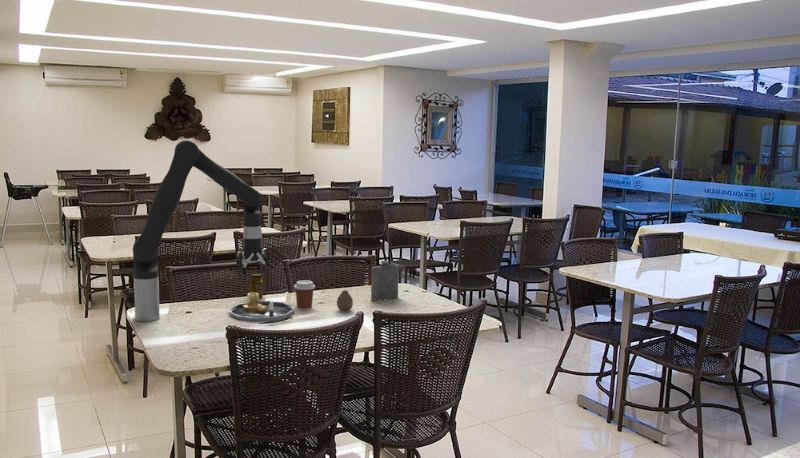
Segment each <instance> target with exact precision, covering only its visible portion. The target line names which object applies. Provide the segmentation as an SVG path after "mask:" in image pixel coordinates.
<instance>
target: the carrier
mask: <svg viewBox="0 0 800 458" xmlns="http://www.w3.org/2000/svg"><path fill="white" fill-rule="evenodd" d="M259 304H262V305H263V306H258V307H257V311H245V310H244V309H243V305H247V302H242V303H237V304H236V305H234V306H232V307H230V308H229V317H232V318H234V319H237V320H238V321H239V320H240V321H247V322H260V323H258V325H268V324H269V325H270V324H277V323H282V322H285V321H288V320H290V319H291V318H293V316H292V315H294V314H295V308H294V306H293V304H292V305H291V304H290V303H286V302H284V301H282V302H281V301H273V300H259Z"/></svg>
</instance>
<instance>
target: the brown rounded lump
mask: <svg viewBox="0 0 800 458" xmlns="http://www.w3.org/2000/svg"><path fill="white" fill-rule="evenodd" d="M353 305H354V300H353V297H352V296H351V294H350V293H349V290H348V289H347V290H344V289H343V290H342V291H341V293H340V294H339V295H338V297H337V299H336V306H337V307H336V308H337V309H338V310H339V311H340V312H342V311H347V312H349V310H350V311H351V310H352V308H353Z"/></svg>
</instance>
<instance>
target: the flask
mask: <svg viewBox="0 0 800 458" xmlns="http://www.w3.org/2000/svg"><path fill="white" fill-rule="evenodd" d="M380 263H381V265H377V266H372V267H371V281H370V282H371V284H370V287H371V292H370V293H371V294H370V295H371V296H370V302H374V301H375V302H379V301H378V300H380V301H385V300H384V299H387V300H394V299H393V298H397V299H399V276H400V275H399V272H400V271H399V270H400V266H399V264H389V260H382V261H381V262H380Z"/></svg>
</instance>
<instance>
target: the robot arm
mask: <svg viewBox="0 0 800 458" xmlns="http://www.w3.org/2000/svg"><path fill="white" fill-rule="evenodd" d="M193 167H194V168H196V169H197V170H199V171H200V172H202V173H203V174H205V175H206V176H207V177H209V178H210V179H212V180H213V182H214V183H216V184H217V185H219V186H220V187H222V188H223V189H225V190H226V191H227V192H228V193H231V194H232V195H234V196H236V197H237V198H238V199H239V200H241V201H242V205H243V206H242V207H243V232H242V234H243V239H242V240H243V245H242V246H243V251H239V250H238V251H236V261H235V262H236V263H235V264H236V266H237V267H240V274H241V275H242V276H243V277H246V276H247V265H248V264H249V263H250V262H253V261H257V262H259V274H265V270H266V267H265V265H266V264H267V263H269V262H270V259H269V258H270V256H269V248H265V247H263V248H262V246H263V245H262V243H263V242H262V240H263V239H262V238H263V237H262V236H263V233H262V215H261V212H260V203H261V202H262V194H261V193H260V192H259V190H258V189H257V190H256V189H255V188H254V187H252V186H251V185H249V184H247V183H246V182H244V181H243V180H242V179H241V178H240V177H238V175H235V174H234V173H233V172H232V171H230V170H229V169H227V168H225V167H224V166H222V165H220V164H219V163H217V162H215V160H213V159H211V158H210V157H209V156H207V155H206V154H205V153H204V152H203V151H202V150H201V149H200V148H199V147H198V144H196V142H195V141H191V140H190V139H183V140H181V141H179V142H177V144H176V145H175V148H174V154H173V157H172V161H171V163H170V166H169V168H168V171H167V173H166V174H165V176H164V177H163V179H162V180H161V182H160V185H159V186H158V188H157V190H156V192H155V193H154V196H153V199H152V201H151V205H150V206H149V207H150V208H149V211H148V215H147V217H146V218H147V219H146V222H145V225H144V228H143V230H142V232H141V234H140V235H139V237H138V238H137V239H136V240H135V241H134V243H133V245H132V254H133V255H132V257H133V259H132V260H133V291H134V295H133V296H134V320H135V321H137V322H154V321H157V320H159V319H160V285H159V283H160V282H159V280H160V279H159V253H158V252H159V248H160V245H161V241H162V238H163V235H164V232H165V230H166V229H167V227H168V225H169V224H170V222H171V220H172V217H173V216H174V214H175V211H176V209H177V207H178V205H179V202H180V200H181V198H182V194H183V192H184V188H185V186H186V185H185V184H186V182H187V179H188V176H189V174H190V172H191V170H192V168H193Z"/></svg>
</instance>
